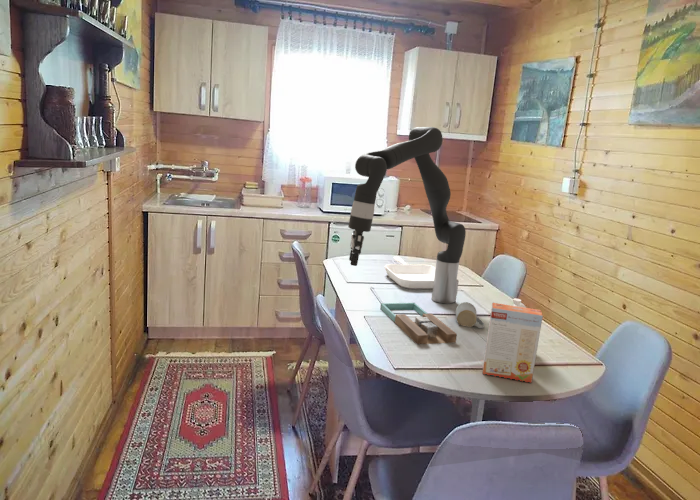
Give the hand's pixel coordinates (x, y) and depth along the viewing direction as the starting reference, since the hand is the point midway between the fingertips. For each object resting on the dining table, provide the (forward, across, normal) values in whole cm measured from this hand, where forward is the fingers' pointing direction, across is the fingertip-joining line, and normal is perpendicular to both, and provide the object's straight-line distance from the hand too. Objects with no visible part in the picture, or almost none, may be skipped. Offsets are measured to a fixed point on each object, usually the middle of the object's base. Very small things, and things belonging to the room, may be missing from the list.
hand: (352, 263), depth 179 cm
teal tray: (+19, +15, -24) cm, 34 cm away
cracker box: (+21, -29, -48) cm, 60 cm away
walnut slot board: (+20, -1, -28) cm, 35 cm away
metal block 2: (+19, -5, -29) cm, 35 cm away
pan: (+14, +73, -35) cm, 82 cm away
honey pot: (+18, -10, -57) cm, 60 cm away
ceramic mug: (+18, +11, -47) cm, 52 cm away
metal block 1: (+19, 0, -28) cm, 34 cm away
